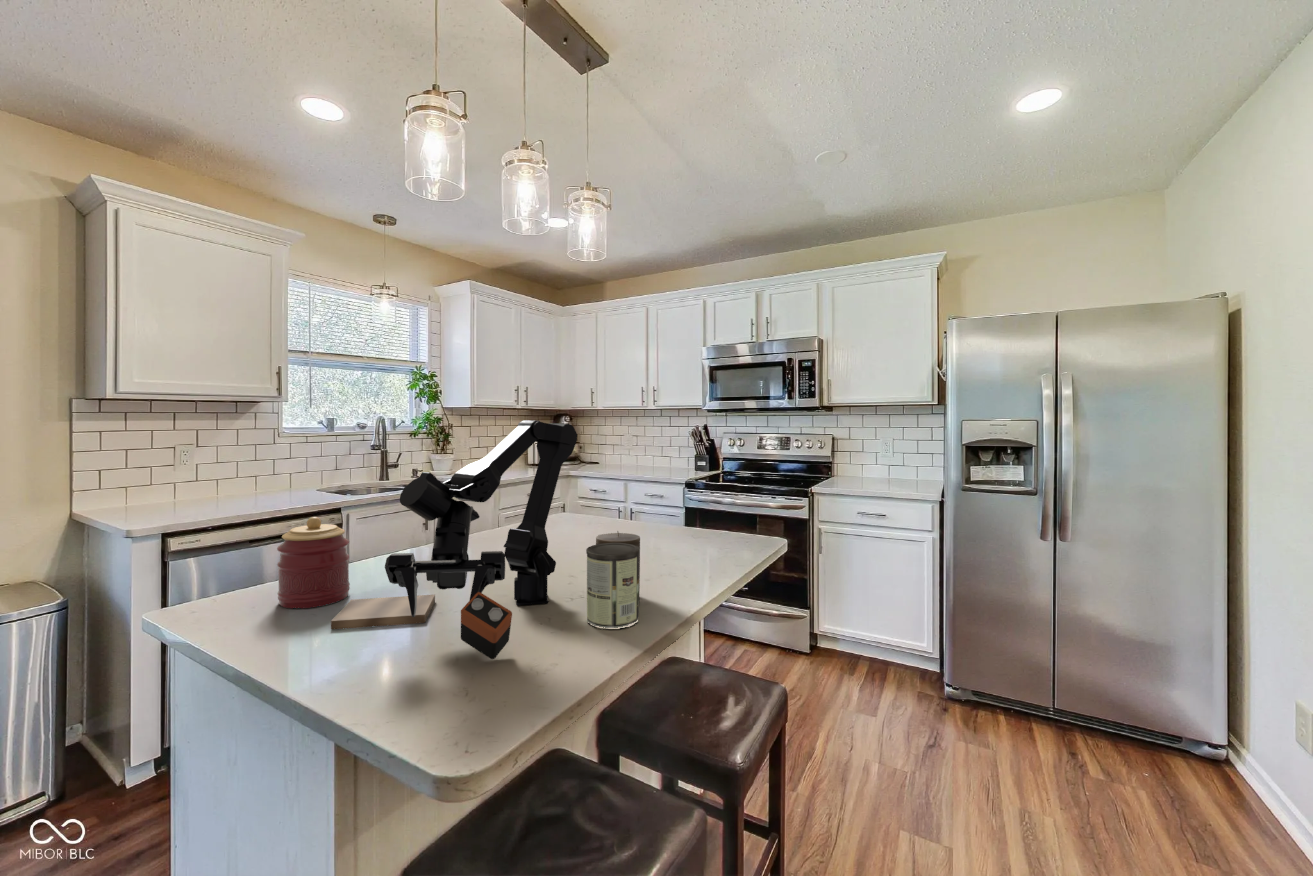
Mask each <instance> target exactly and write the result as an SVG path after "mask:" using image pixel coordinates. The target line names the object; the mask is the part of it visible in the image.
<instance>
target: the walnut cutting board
mask: <svg viewBox="0 0 1313 876" xmlns="http://www.w3.org/2000/svg"><path fill="white" fill-rule="evenodd" d="M435 602H436V594H422V595H420V594H419V595H418V594H417V607H416V613H415V617H412V615H411V610H410V605H409V599H408V595H407V596H406V595H405V596H390V597H389V596H388V597H387V596H386V597H374V598H358V599H357V598H356V599H354V598H353V599H350V600H349V601H348V602H347V603H346V605H345V606H344V607H343V608H342V609H341V610H340V611H339V612H338V613H337V614H336V615H335V616H334V617H333V618H332V619H331V620H330V629H333V630H345V628H347V629H357V628H358V629H360V628H371V627H372V626H375V627H384V626H385V627H386V626H387V625H388V626H399V625H400V626H401V625H413V624H425V623H426V621H427V619H428V617H429V615H430V614H431V611H432V609H433V607H434V605H435ZM343 628H344V629H343ZM372 628H373V627H372Z"/></svg>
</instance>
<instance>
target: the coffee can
mask: <svg viewBox="0 0 1313 876" xmlns="http://www.w3.org/2000/svg"><path fill="white" fill-rule="evenodd" d="M585 552H586V553H585V554H586V623H587V622H589V623H590V624H592V625H594V626H599V627H603V628H604V627H605V628H618V627H623V626H628V625H629V624H632V623H634V622H636V621H637V620H638V617H639V614H640V613H639V612H640V611H639V610H640V609H639V607H640V605H639V603H640V602H639V601H640V589H639V552H640V553H641V547H640V548H639V547H637V546H635V545H632V544H626V543H603V544H596V543H595V544H593V545H590V546H588V547H587V548H586V549H585ZM639 618H640V617H639Z"/></svg>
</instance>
